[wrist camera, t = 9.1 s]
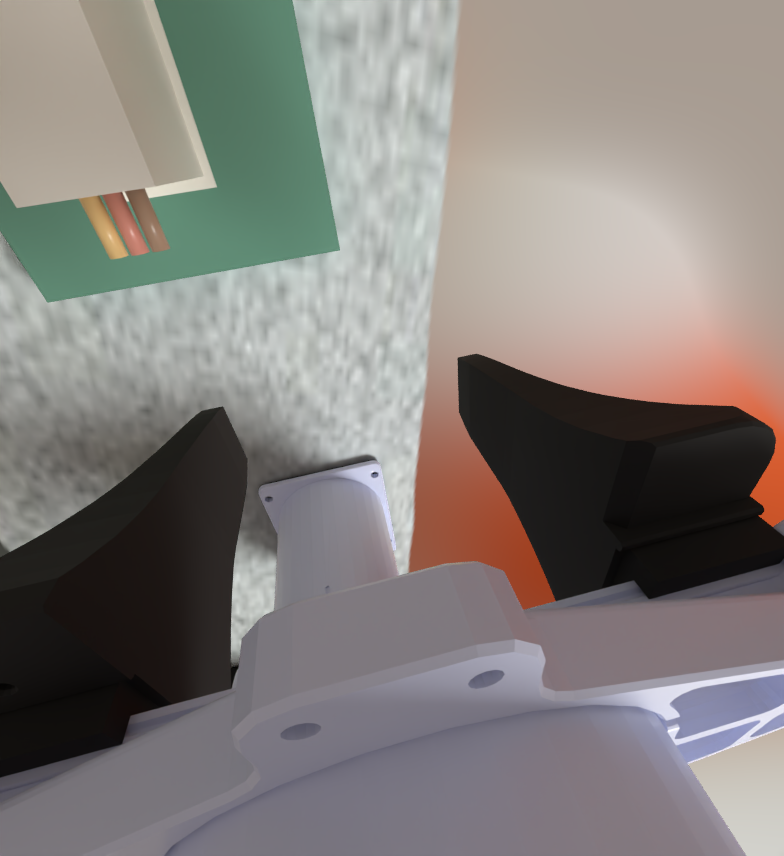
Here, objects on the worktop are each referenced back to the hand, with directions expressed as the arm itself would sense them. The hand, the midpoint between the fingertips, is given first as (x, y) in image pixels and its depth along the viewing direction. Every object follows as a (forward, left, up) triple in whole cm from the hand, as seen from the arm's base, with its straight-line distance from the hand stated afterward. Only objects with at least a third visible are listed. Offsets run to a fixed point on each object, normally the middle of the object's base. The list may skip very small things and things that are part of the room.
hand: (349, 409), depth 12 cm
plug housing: (+9, +5, -8) cm, 13 cm away
